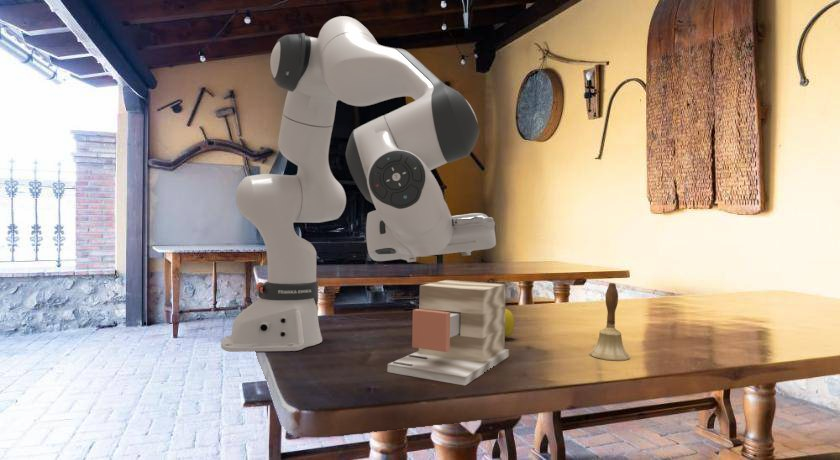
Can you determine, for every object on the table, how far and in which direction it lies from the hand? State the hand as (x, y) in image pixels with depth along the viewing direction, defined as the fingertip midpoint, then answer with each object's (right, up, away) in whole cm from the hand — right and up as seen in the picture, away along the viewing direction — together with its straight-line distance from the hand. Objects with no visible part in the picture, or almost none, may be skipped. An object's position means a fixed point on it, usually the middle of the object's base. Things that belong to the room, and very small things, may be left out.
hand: (439, 254), depth 90 cm
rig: (+3, -23, +16) cm, 28 cm away
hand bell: (+38, -23, +25) cm, 51 cm away
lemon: (+17, -23, +40) cm, 49 cm away
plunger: (+1, -18, +12) cm, 22 cm away
